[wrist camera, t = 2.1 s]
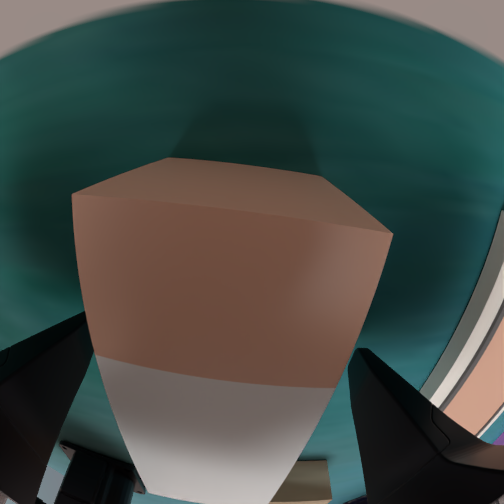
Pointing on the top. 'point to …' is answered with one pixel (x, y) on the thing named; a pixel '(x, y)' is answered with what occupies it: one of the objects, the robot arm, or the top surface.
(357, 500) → the storage jar
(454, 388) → the picture board
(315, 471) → the button block
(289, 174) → the two-tone rectangular block
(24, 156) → the top surface
